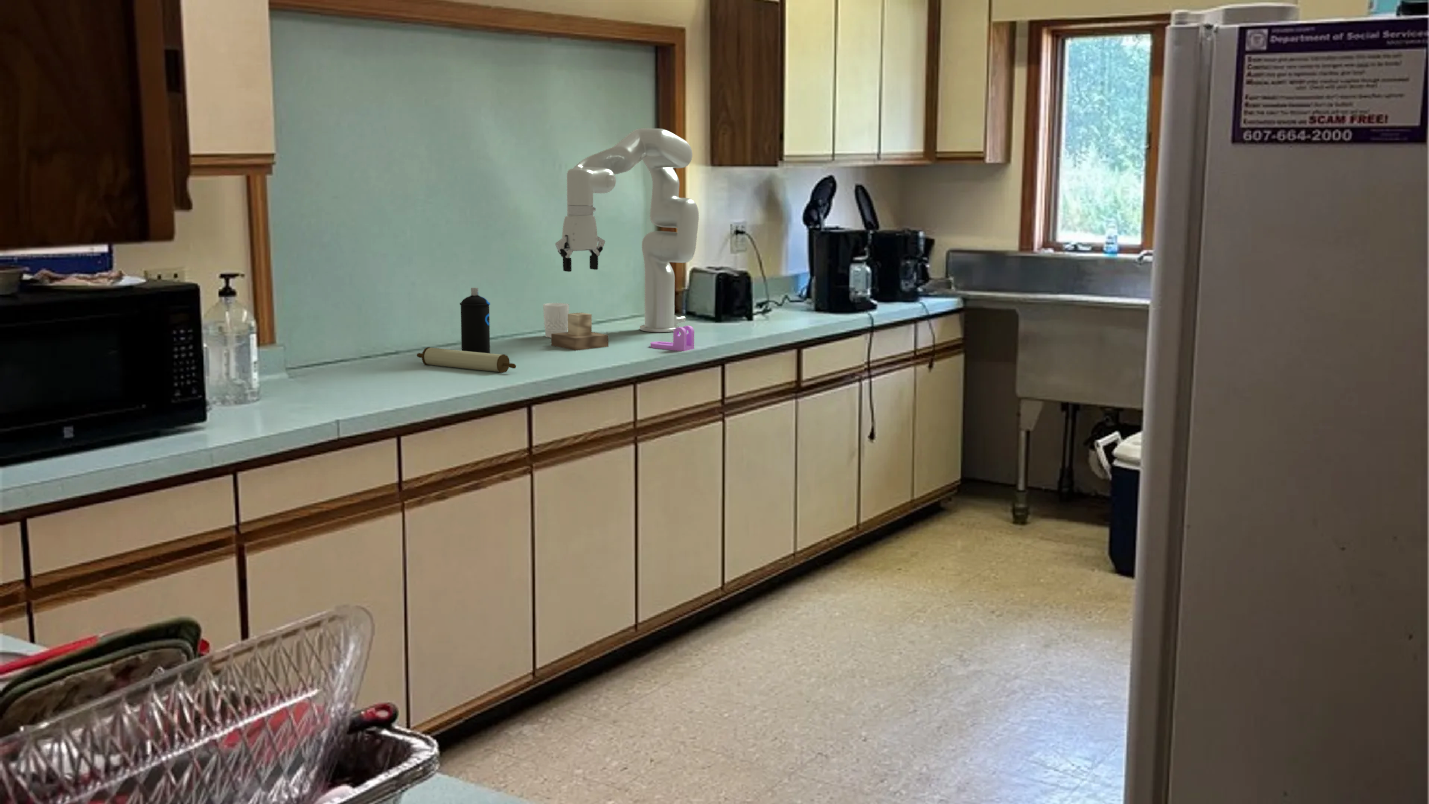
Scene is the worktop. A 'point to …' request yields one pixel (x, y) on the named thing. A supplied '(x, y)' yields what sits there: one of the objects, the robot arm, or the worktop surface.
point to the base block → (579, 341)
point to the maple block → (580, 324)
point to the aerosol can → (475, 323)
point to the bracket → (678, 340)
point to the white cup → (555, 318)
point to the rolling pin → (466, 359)
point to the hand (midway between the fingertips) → (580, 270)
